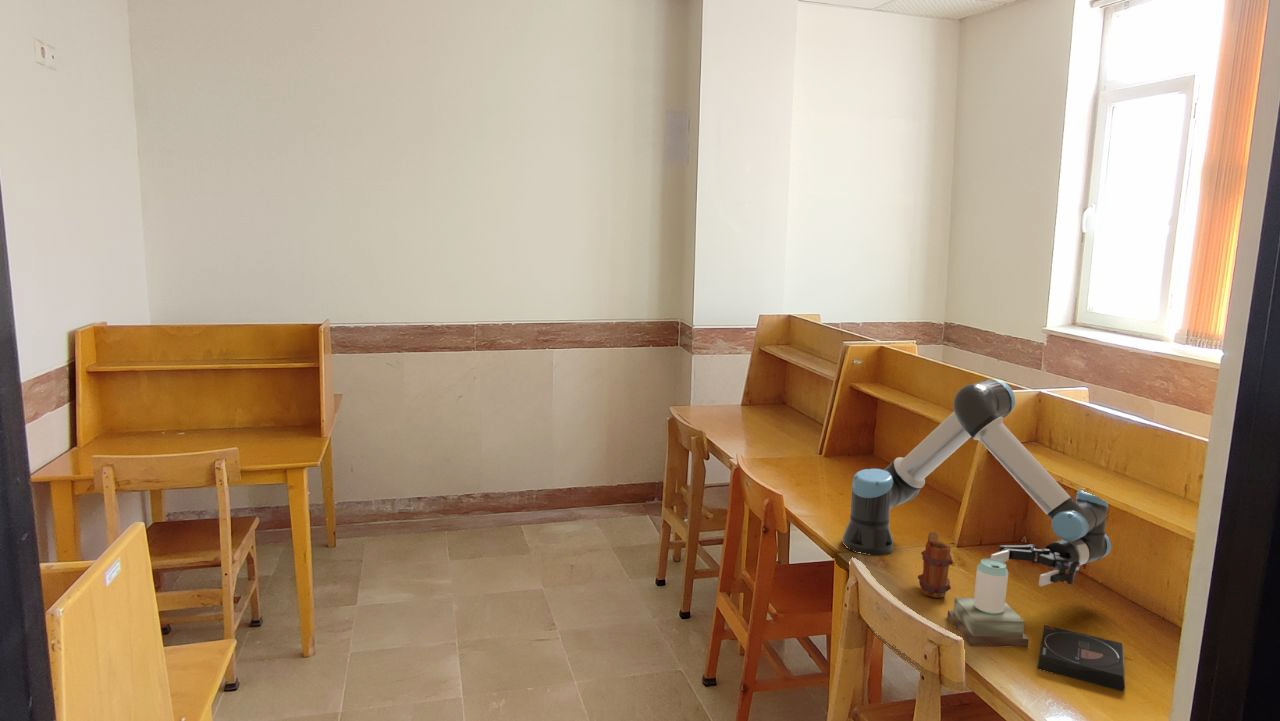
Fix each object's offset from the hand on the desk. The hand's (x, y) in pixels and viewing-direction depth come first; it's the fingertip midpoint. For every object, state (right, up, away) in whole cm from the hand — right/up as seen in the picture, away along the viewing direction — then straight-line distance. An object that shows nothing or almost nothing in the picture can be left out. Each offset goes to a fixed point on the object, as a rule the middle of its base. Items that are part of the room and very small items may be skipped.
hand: (1015, 570), depth 205 cm
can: (-8, -9, -3) cm, 12 cm away
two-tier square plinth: (-8, -15, -2) cm, 17 cm away
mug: (-14, -11, +20) cm, 27 cm away
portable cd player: (+8, -18, -16) cm, 25 cm away
